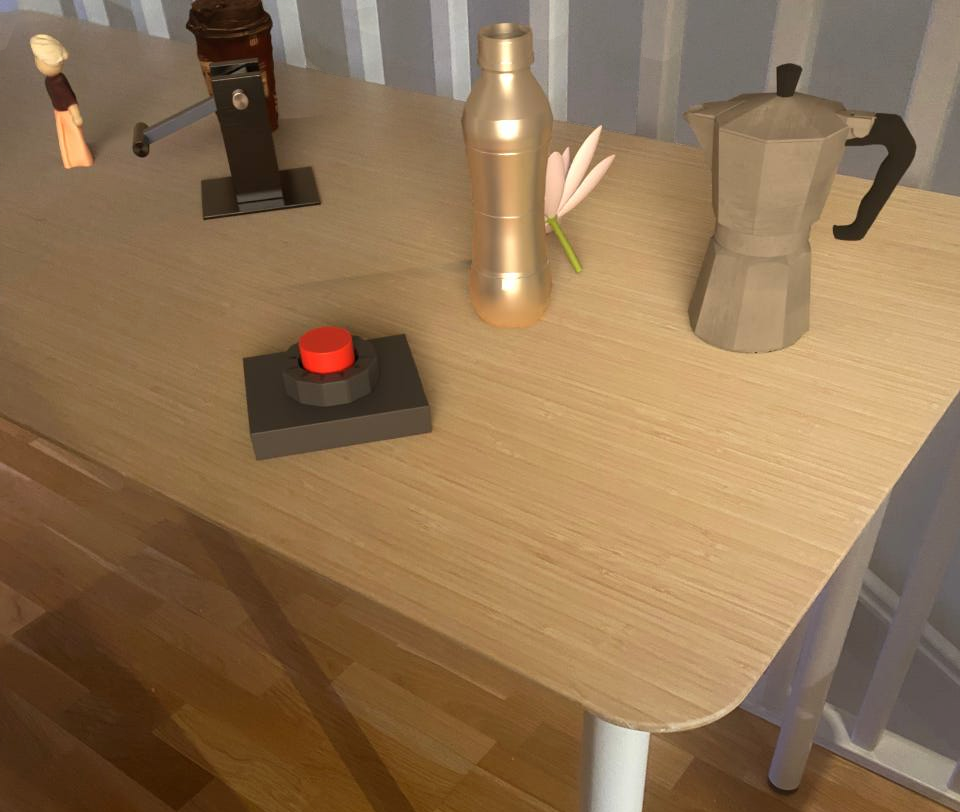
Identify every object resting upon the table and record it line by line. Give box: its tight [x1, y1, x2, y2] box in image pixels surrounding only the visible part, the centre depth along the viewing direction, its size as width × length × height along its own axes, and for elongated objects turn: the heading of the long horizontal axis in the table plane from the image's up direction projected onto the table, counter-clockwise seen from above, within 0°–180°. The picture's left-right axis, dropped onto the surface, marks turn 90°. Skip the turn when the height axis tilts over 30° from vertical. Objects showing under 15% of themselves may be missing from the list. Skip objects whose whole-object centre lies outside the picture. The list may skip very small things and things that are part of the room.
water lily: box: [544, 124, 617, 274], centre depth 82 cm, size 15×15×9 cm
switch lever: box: [131, 67, 248, 158], centre depth 89 cm, size 12×5×2 cm, turn 102°
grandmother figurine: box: [29, 33, 94, 170], centre depth 99 cm, size 8×4×13 cm, turn 43°
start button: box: [298, 326, 355, 375], centre depth 67 cm, size 4×4×2 cm
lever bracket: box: [200, 58, 322, 221], centre depth 91 cm, size 11×9×12 cm
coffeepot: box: [681, 62, 918, 354], centre depth 69 cm, size 15×9×18 cm, turn 67°
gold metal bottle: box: [460, 22, 554, 328], centre depth 71 cm, size 6×7×20 cm
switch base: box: [242, 333, 433, 462], centre depth 69 cm, size 12×10×4 cm
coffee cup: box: [185, 0, 280, 134], centre depth 103 cm, size 9×8×13 cm
